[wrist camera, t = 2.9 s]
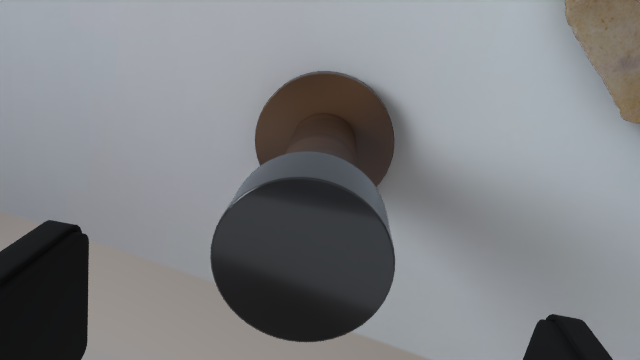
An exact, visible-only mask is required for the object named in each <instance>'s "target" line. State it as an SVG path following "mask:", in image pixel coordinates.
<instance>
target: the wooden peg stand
mask: <svg viewBox="0 0 640 360" xmlns="http://www.w3.org/2000/svg"><path fill="white" fill-rule="evenodd" d="M255 146H256V153H257V158H258V161H259V164H260V166H261V165H262V164H264V163H266V162H267V161H269V160H271V159H274V158H276V157H278V156H281V155H285V154H289V153H295V152H319V153H325V154H329V155H333V156H336V157H338V158H341V159H343V160H345V161H347V162H349V163H351V164H352V165H354V166H355V167H357V168H358V169H359V170H361V171H362V172H363V173H364V174H365V175H366V176H367V177H368V178H369V179H370V180H371V181H372V183H373V184H374V185H375V187H377V185H378V184H379V183H380V182H381V181H382V179H383V177H384V176H385V174H386V173H387V170H388V168H389V166H390V163H391V160H392V157H393V151H394V132H393V127H392V123H391V120H390V117H389V115H388V112H387V110H386V108H385V106H384V104H383V103H382V101H381V100H380V98H379V97H378V96H377V95H376V93H375V92H374V91H373V90H372V89H371V88H369V87H368V86H367V85H365V84H364V83H363V82H361V81H359V80H357V79H356V78H354V77H351V76H349V75H346V74H342V73H338V72H331V71H318V72H312V73H307V74H304V75H301V76H298V77H296V78H294V79H292V80H290V81H289V82H287V83H286V84H284V85H283V86H282V87H281V88H279V89H278V90H277V91H276V92H275V94H274V95H273V96H272V97H271V98H270V99H269V100H268V102H267V103H266V105H265V106H264V108H263V110H262V112H261V114H260V117H259V120H258V123H257V127H256V134H255Z"/></svg>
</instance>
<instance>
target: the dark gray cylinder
mask: <svg viewBox="0 0 640 360" xmlns="http://www.w3.org/2000/svg"><path fill="white" fill-rule="evenodd" d="M211 268H212V272H213V276H214V280H215V283H216V285H217V287H218V290H219V292H220V293H221V295H222V297H223V299H224V300H225V301H226V303H227V304H228V306H229V307H230V308H231V309H232V310H233V311H234V312H235V313H236V314H237V315H238V316H239V317H240V318H241V319H242V320H244V321H245V322H246V323H247V324H249V325H251V326H252V327H254V328H255V329H257V330H259V331H261V332H263V333H265V334H267V335H270V336H273V337H276V338H279V339H284V340H288V341H296V342H317V341H324V340H329V339H333V338H336V337H339V336H342V335H345V334H347V333H349V332H351V331H353V330H355V329H356V328H358V327H360V326H361V325H363V324H364V323H365V322H366V321H367V320H369V319H370V318H371V317H372V316H373V315H374V314H375V313H376V312H377V310H378V309H379V308H380V306H381V305H382V304H383V302H384V301H385V299H386V297H387V295H388V293H389V291H390V288H391V285H392V282H393V277H394V272H395V254H394V247H393V242H392V237H391V232H390V226H389V221H388V216H387V212H386V208H385V204H384V202H383V200H382V197H381V195H380V193H379V191H378V190H377V188H376V187H375V185H374V184H373V183H372V181H371V180H370V179H369V178H368V177H367V176H366V175H365V174H364V173H363V172H362V171H361V170H359V169H358V168H357V167H355V166H354V165H352V164H351V163H349V162H347V161H345V160H343V159H341V158H338V157H336V156H333V155H329V154H325V153H319V152H295V153H289V154H285V155H281V156H278V157H276V158H274V159H271V160H269V161H267V162H266V163H264V164H262V165H261V166H260V167H258V168H257V169H256V170H254V171H253V172H252V173H251V174H250V175H249V176H248V177H247V178H246V180H245V181H244V183H243V184H242V185H241V187H240V188H239V190H238V191H237V193H236V195H235V196H234V198H233V199H232V201H231V203H230V204H229V206H228V207H227V209H226V211H225V212H224V214H223V215H222V217H221V219H220V221H219V223H218V225H217V227H216V229H215V232H214V235H213V239H212V244H211Z"/></svg>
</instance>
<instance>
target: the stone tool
mask: <svg viewBox="0 0 640 360" xmlns="http://www.w3.org/2000/svg"><path fill="white" fill-rule="evenodd" d="M565 5H566V18H567V22H568V24H569V25H570V26H571V27H572V29H573V32H574V35H575V37H576V38H577V40H578V41H579V42H580V45H581V46H582V48H583V49H584V51H585V52H586V55H587V57H588V59H589V60H590V62H591V63H592V65H593V66H594V67H595V70H596V71H597V72H598V73H599V75H600V76H601V77H602V78H603V80H604V83H605V85H606V86H607V88H608V90H609V91H610V94H611V95H612V97H613V100H614V102H615V105H616V106H617V107H618V108H619V109H620V114H621V117H622V118H623V119H624V120H626V121H629V122H632V123H637V124H640V2H639V0H566V1H565Z"/></svg>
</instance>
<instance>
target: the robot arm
mask: <svg viewBox="0 0 640 360" xmlns="http://www.w3.org/2000/svg"><path fill="white" fill-rule="evenodd" d="M88 252H89V240H88V236H87V235H86V234H83V233H82V231H81V228H80V227H79V226H78V225H73V224H68V223H63V222H57V221H51V220H48V221H46V222H44V223H43V224H41V225H40V226H38V227H37V228H35V229H34V230H32V231H31V232H29V233H28V234H26V235H25V236H23V237H22V238H20V239H19V240H17V241H16V242H14V243H13V244H11V245H10V246H8V247H7V248H5V249H4V250H2V251H1V252H0V360H81V359H82V357H83V355H84V353H85V350H86V346H87V325H88V256H89V253H88ZM523 360H613V359H612V358H611V356H610V355H609V354H608V352H607V351H606V350H605V348H604V347H603V346H602V344H601V343H600V342H599V341H598V339H597V338H596V337H595V335H594V334H593V333H592V331H591V330H590V329H589V327H588V326H587V325H586V323H585V322H584V321H583V320H580V319H576V318H570V317H565V316H560V315H554V314H552V315H549V316H548V317H547V318H546V320H540V321H539V322H538V323H537V325H536V327H535V329H534V332H533V335H532V337H531V340H530V342H529V345H528V348H527V350H526V353H525V356H524V358H523Z"/></svg>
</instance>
